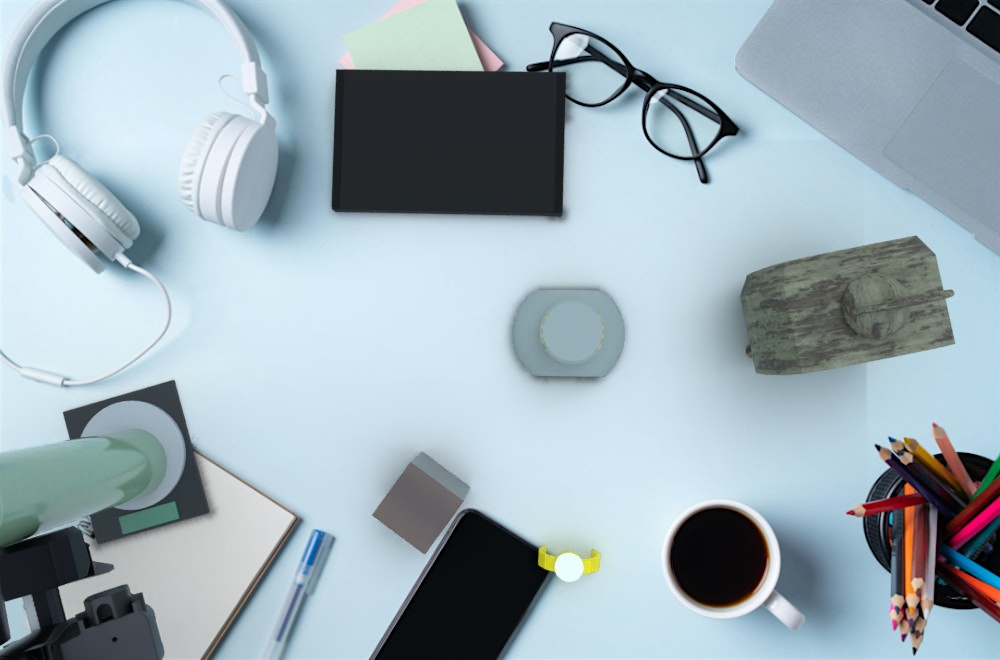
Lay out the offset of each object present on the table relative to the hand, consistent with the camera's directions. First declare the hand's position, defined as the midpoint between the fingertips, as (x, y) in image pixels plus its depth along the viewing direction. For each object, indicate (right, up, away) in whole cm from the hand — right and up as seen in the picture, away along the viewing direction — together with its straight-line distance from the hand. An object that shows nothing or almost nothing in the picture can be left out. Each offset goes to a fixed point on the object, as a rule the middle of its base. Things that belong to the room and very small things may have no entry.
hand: (122, 619), depth 68 cm
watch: (+40, +3, +12) cm, 41 cm away
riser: (+26, +9, +12) cm, 30 cm away
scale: (-4, +12, +14) cm, 18 cm away
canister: (-4, +12, +11) cm, 17 cm away
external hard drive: (+28, +44, +14) cm, 54 cm away
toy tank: (+63, +27, +12) cm, 69 cm away
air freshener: (+40, +25, +12) cm, 48 cm away
